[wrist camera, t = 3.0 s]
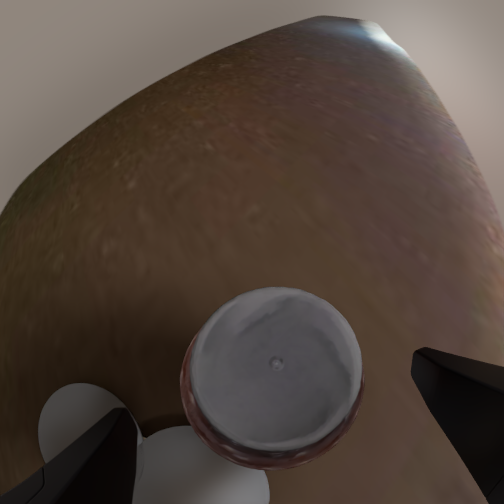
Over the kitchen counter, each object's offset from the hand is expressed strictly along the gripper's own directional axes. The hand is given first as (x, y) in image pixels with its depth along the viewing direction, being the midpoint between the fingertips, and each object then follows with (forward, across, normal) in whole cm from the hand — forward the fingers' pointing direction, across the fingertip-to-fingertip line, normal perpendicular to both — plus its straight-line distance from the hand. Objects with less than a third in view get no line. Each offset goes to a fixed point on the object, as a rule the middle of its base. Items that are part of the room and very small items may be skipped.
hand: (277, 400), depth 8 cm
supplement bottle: (+7, 0, +6) cm, 9 cm away
